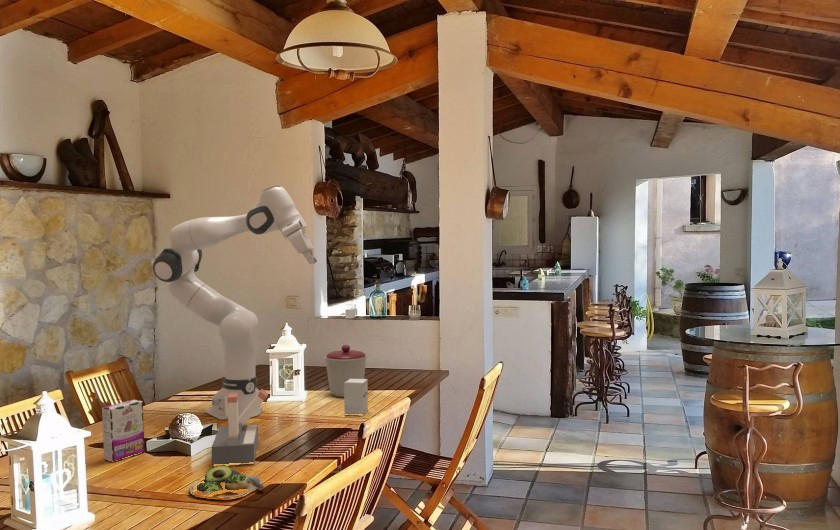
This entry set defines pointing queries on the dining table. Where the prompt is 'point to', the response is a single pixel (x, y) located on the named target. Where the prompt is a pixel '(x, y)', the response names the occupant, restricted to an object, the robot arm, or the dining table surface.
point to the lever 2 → (252, 407)
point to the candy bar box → (123, 429)
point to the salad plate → (227, 481)
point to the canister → (344, 368)
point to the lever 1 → (233, 414)
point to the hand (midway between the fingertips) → (313, 263)
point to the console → (235, 445)
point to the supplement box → (355, 396)
